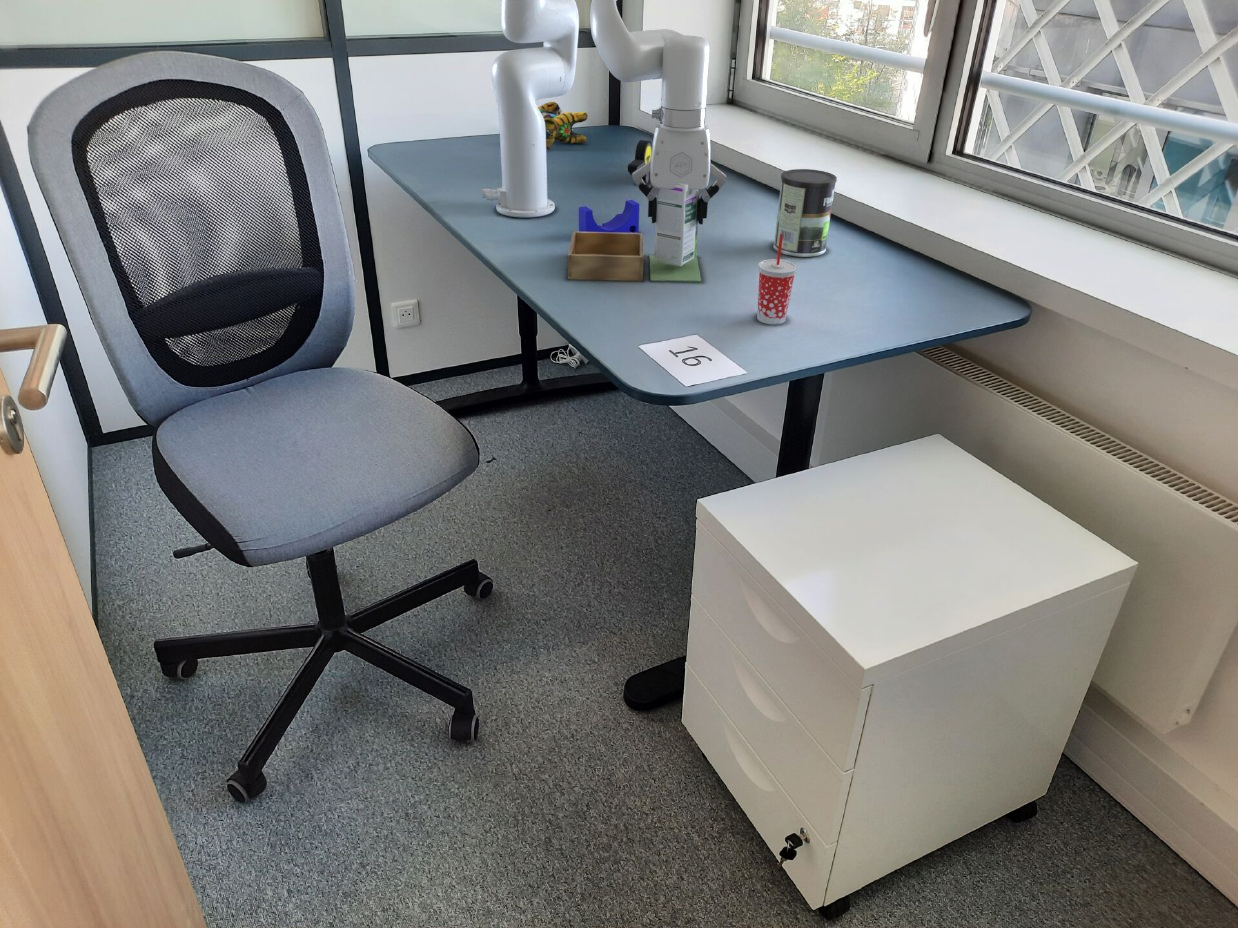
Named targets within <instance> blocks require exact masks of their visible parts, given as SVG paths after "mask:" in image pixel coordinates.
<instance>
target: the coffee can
mask: <svg viewBox="0 0 1238 928" xmlns="http://www.w3.org/2000/svg"><path fill="white" fill-rule="evenodd" d="M780 179H781V181H780V190H779V198H778V206H777V207H778V208H777V215H776V223H775V224H776V225H775V231H774V232H775V234H774V240H773V249H774V250H775V251H776V252H778V247H779V239H780V234H783V239H782V248H781V255H782V254H783V255H786V256H791V257H799V258H813V257H814V258H815V257H818V256H822V255H823V254H825V252H827V242H828V236H829V235H828V234H829V228H830V221H831V215H832V209H833V201H834V194H835V189H836V183H837V181H838V177H837V176H836V175H835V174H833V173H831V172H829V171H824V170H819V169H811V168H810V169H809V168H796V169H789V170H785V171H783V172H781V174H780Z"/></svg>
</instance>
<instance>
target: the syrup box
mask: <svg viewBox="0 0 1238 928" xmlns="http://www.w3.org/2000/svg"><path fill="white" fill-rule="evenodd" d="M700 196H701V194H700V193H699V191H698V190H689V189H688V185H687V184H680V183H677V185H676V186H675V188H673V189H660V190H659V192H658V193H657V195H656V198H657V208H656V223H655V238H654V239H655V241H654V255H655V260H657V261H660V262H664V263H667V264H672V265H677V266H683V264H685V263H687V262H688V261H690V260H692V259H694V258H695V257H696V256H697V245H698V228H699V223H698V212H699V198H700Z"/></svg>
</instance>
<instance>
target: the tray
mask: <svg viewBox="0 0 1238 928" xmlns="http://www.w3.org/2000/svg"><path fill="white" fill-rule="evenodd" d="M567 274H568V275H567V276H568V277H567V278H568V280H582V281H583V280H585V281H586V280H587V281H589V280H590V281H625V282H626V281H628V282H629V281H630V282H643V280H644V279H643V278H644V233H643V232H638V233H615V232H579V231H577V230H575V231H572V234H571V238H570V244H569V248H568V253H567Z"/></svg>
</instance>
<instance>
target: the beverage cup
mask: <svg viewBox="0 0 1238 928" xmlns="http://www.w3.org/2000/svg"><path fill="white" fill-rule="evenodd" d="M782 239H783V234H780V239H779V247H778V251H777V255H776V256H777V257H776V258H771V259H764V260H761V261H760V262H758V264H757V271H758V273H759V275H758V276H759V277H758V293H757V294H758V295H757V297H758V298H757V314H756V315H757V317H756V318H757V321H759V322H760V323H762V324H766V325H781V324H783V323H785V322H786V319H787V314H788V309H789V304H790V300H791V299H790V298H791V294H792V290H793V289H792V288H793V284H794V278H795V275H796V274H797V271H798V266H797V264H795V263H794V262H793V261H789V260H785V259H781V255H782V253H781V248H782Z"/></svg>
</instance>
